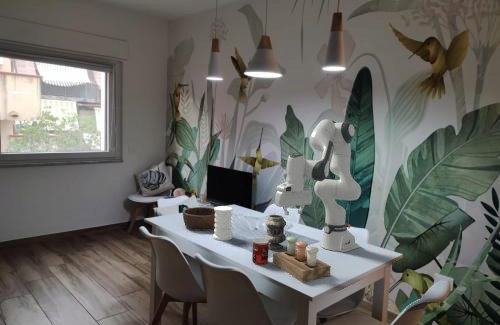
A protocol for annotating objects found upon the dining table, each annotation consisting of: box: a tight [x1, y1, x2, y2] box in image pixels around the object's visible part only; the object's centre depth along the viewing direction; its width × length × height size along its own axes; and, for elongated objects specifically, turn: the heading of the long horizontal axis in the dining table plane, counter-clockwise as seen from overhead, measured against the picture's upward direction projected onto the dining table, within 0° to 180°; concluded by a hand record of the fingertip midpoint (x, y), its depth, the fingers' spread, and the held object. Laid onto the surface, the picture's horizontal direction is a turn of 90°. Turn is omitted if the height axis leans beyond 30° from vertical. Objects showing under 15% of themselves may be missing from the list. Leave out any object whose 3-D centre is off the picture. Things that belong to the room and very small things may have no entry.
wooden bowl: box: [182, 206, 215, 231], centre depth 238 cm, size 25×25×10 cm
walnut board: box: [272, 249, 332, 283], centre depth 172 cm, size 16×24×5 cm, turn 29°
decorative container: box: [212, 205, 233, 242], centre depth 216 cm, size 12×12×18 cm
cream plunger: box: [306, 246, 319, 266], centre depth 164 cm, size 6×6×8 cm
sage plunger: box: [285, 236, 299, 255], centre depth 178 cm, size 6×6×8 cm
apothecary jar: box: [263, 214, 287, 251], centre depth 202 cm, size 12×12×18 cm
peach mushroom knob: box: [296, 240, 309, 260], centre depth 171 cm, size 6×6×8 cm
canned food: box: [251, 238, 270, 266], centre depth 179 cm, size 8×8×11 cm
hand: (293, 214), depth 177 cm, fingers open, 6 cm apart
